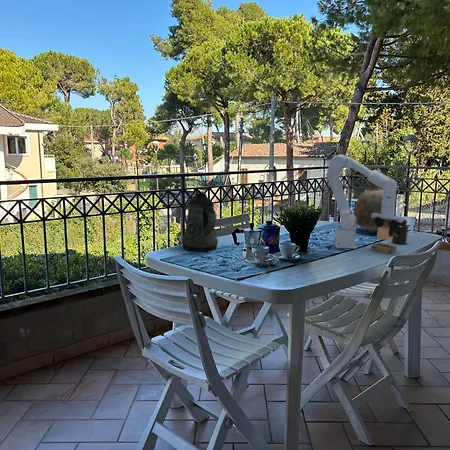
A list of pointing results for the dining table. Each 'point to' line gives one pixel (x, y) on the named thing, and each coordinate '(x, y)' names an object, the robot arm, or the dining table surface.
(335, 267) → the dining table surface
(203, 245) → the beer stein
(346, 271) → the dining table surface
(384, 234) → the terracotta cube
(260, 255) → the eyeglasses
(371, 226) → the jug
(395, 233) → the supplement bottle
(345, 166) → the robot arm
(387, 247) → the walnut base
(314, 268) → the dining table surface
